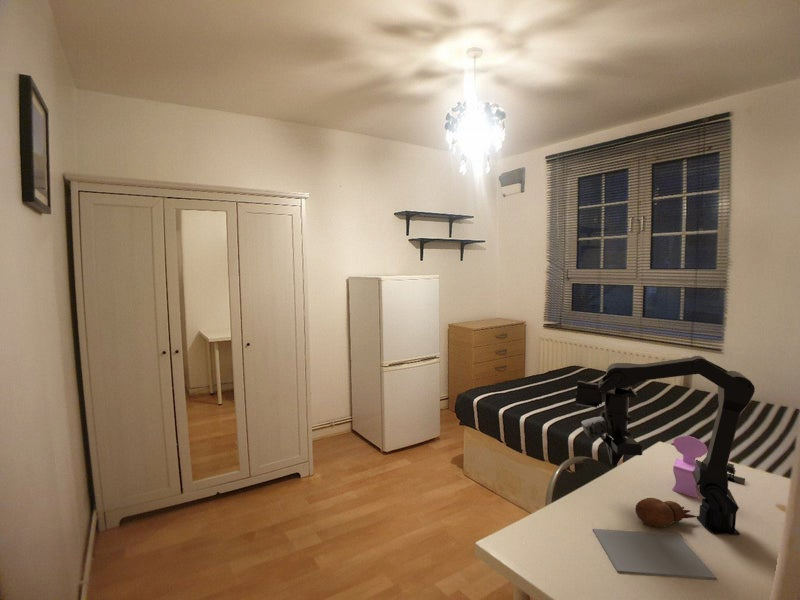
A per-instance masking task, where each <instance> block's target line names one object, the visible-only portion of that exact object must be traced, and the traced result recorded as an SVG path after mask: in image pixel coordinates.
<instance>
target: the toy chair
mask: <svg viewBox="0 0 800 600" xmlns="http://www.w3.org/2000/svg"><path fill="white" fill-rule="evenodd" d="M672 443H673V446H674V448H675V449H676V451H677V452H678V453H680V454H681V455H682V459H681V458H678V457H676V458H675V460H674V464H673V468H672V471H673V475H674V479H675V482H674V483H675V484H674V486H673V488H672V489H671V491H673V492H676V493H680V494H683V495H687V496H690V497H693V498H695V499H699V495H698V494H697V490H696V487H698V486H697V484H696V482H695V479H694V477H693V474H692V472H693V471H694V469H695V460H696V459H698V458H701V457H703V456H704V455H707V452H708V446H707V445H706V444H705V443H704V442H702V441H701V440H700V439H698V438H696V437H693V436H690V435H684V436H683V435H682V436H677V437H676V438H674V439H673V441H672Z"/></svg>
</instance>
